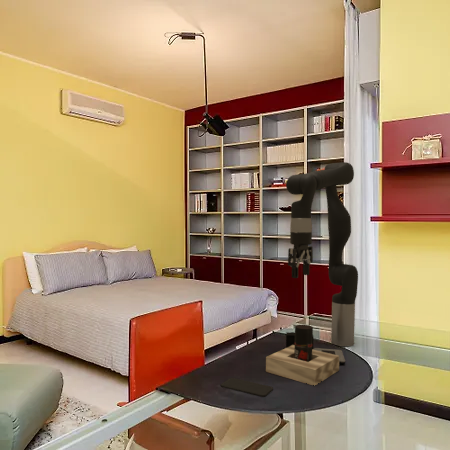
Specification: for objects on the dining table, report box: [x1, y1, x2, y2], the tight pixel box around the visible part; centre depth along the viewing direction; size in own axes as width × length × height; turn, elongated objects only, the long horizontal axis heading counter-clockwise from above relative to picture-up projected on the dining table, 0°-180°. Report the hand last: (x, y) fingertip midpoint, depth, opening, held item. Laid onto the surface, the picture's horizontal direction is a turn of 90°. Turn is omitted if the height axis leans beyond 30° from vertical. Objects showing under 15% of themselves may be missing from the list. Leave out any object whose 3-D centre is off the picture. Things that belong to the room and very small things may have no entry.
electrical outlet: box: [313, 347, 346, 364], centre depth 154 cm, size 13×10×2 cm
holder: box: [265, 345, 340, 387], centre depth 141 cm, size 18×18×5 cm
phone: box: [220, 377, 274, 398], centre depth 126 cm, size 7×1×15 cm
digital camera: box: [285, 331, 314, 350], centre depth 162 cm, size 10×5×7 cm, turn 82°
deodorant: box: [294, 324, 314, 362], centre depth 141 cm, size 6×6×15 cm
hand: (300, 276), depth 148 cm, fingers open, 8 cm apart
